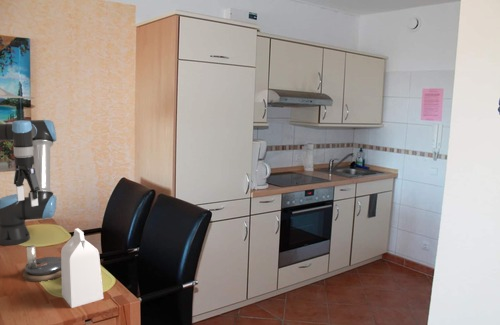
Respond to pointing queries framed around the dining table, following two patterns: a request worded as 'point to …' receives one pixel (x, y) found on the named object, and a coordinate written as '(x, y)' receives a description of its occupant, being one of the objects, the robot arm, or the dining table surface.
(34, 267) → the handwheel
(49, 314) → the dining table surface
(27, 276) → the wheel base
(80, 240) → the milk
